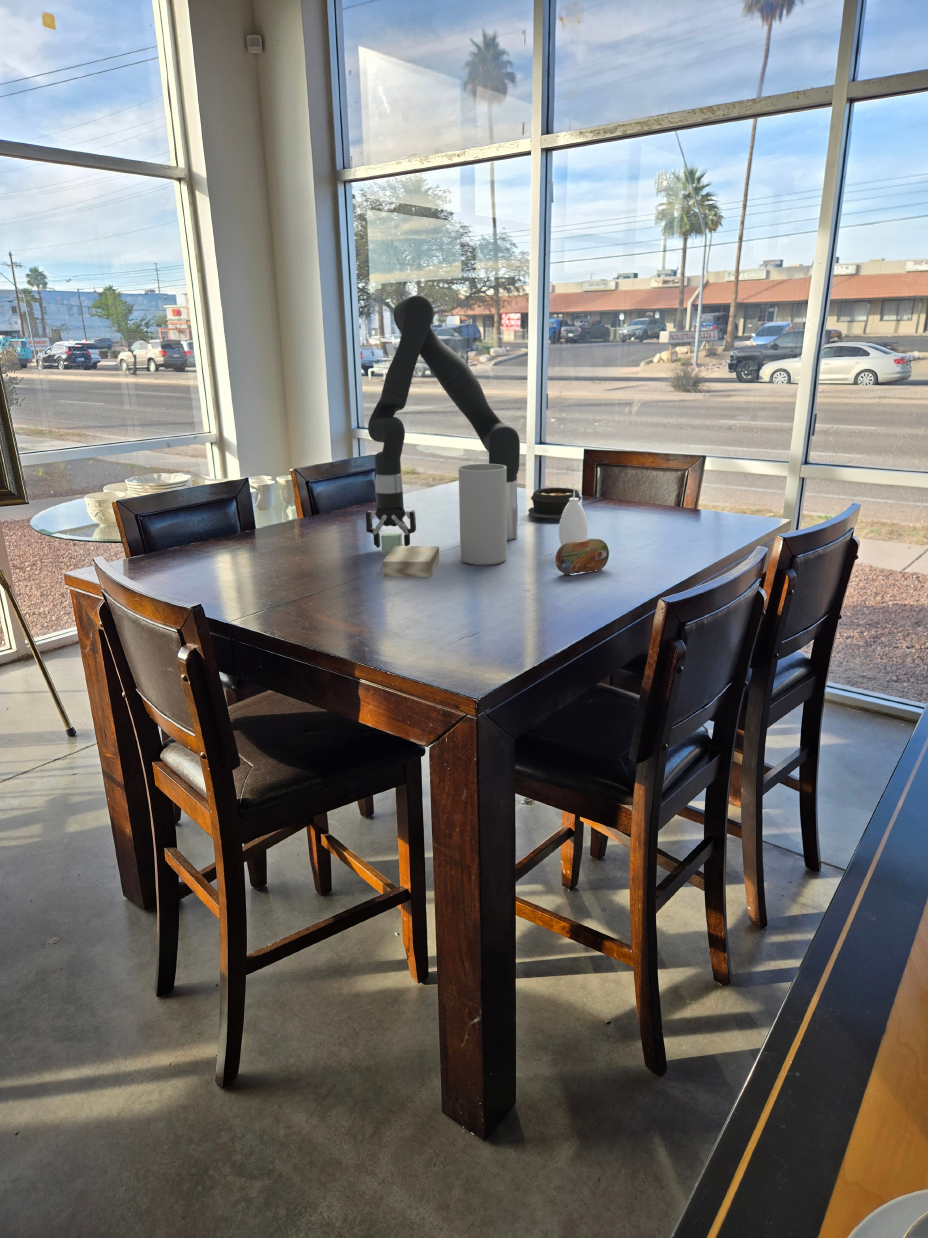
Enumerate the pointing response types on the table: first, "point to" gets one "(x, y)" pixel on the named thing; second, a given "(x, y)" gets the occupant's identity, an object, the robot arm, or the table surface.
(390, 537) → the cube
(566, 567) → the tin
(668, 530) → the table surface
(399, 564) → the base block
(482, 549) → the cylinder vase
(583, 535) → the sauce bottle
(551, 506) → the casserole
